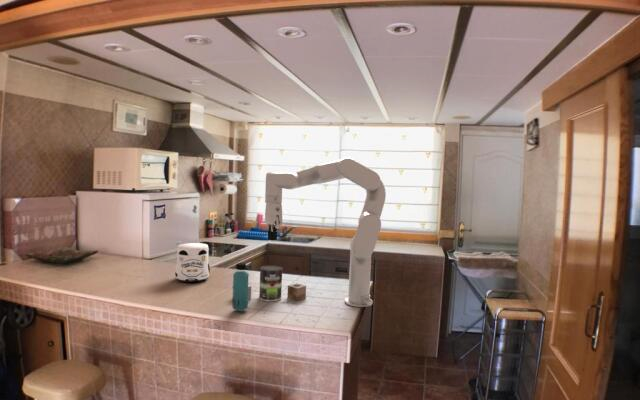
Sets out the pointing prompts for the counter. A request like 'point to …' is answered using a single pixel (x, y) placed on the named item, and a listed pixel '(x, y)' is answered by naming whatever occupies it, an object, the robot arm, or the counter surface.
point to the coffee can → (270, 283)
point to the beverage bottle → (240, 288)
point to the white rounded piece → (192, 262)
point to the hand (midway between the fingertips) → (272, 239)
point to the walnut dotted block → (296, 292)
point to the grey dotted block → (249, 291)
